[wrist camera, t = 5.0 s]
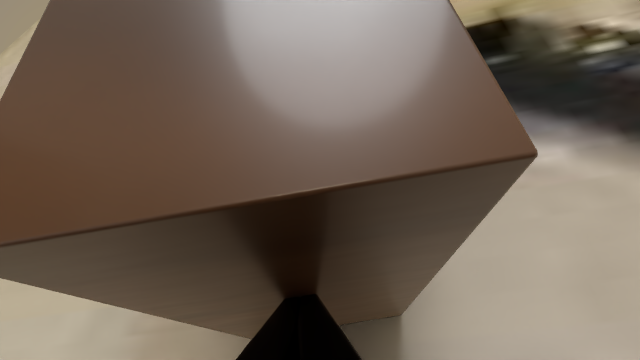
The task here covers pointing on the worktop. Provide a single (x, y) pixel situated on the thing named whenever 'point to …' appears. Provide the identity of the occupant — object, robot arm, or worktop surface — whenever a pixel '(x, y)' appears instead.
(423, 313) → the worktop surface
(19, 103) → the walnut block
